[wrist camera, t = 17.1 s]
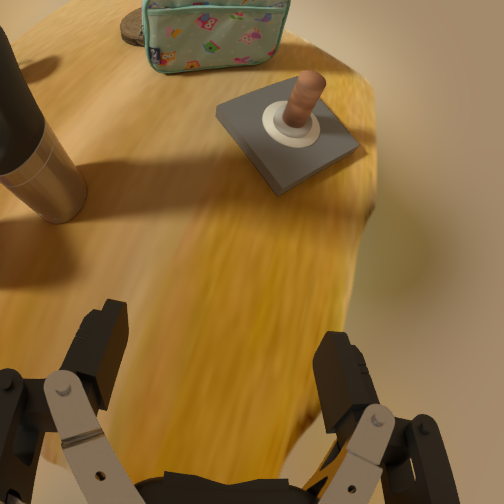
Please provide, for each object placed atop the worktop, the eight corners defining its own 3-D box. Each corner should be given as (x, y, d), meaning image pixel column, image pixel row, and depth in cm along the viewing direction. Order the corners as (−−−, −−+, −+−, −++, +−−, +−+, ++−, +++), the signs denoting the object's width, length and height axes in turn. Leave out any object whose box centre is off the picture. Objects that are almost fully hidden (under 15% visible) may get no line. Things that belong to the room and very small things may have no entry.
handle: (265, 116, 47) (281, 70, 36) (294, 104, 49) (313, 60, 38) (289, 144, 46) (311, 100, 36) (317, 129, 48) (342, 88, 38)
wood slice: (186, 9, 56) (187, 1, 53) (191, 43, 53) (192, 33, 50) (123, 18, 53) (122, 9, 50) (118, 53, 50) (117, 43, 47)
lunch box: (141, 83, 48) (131, -9, 28) (140, 52, 50) (133, -31, 30) (275, 70, 54) (305, -13, 34) (262, 41, 56) (285, -35, 36)
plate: (215, 116, 49) (217, 105, 46) (293, 85, 54) (297, 75, 51) (277, 196, 47) (283, 188, 44) (352, 153, 52) (360, 144, 49)
